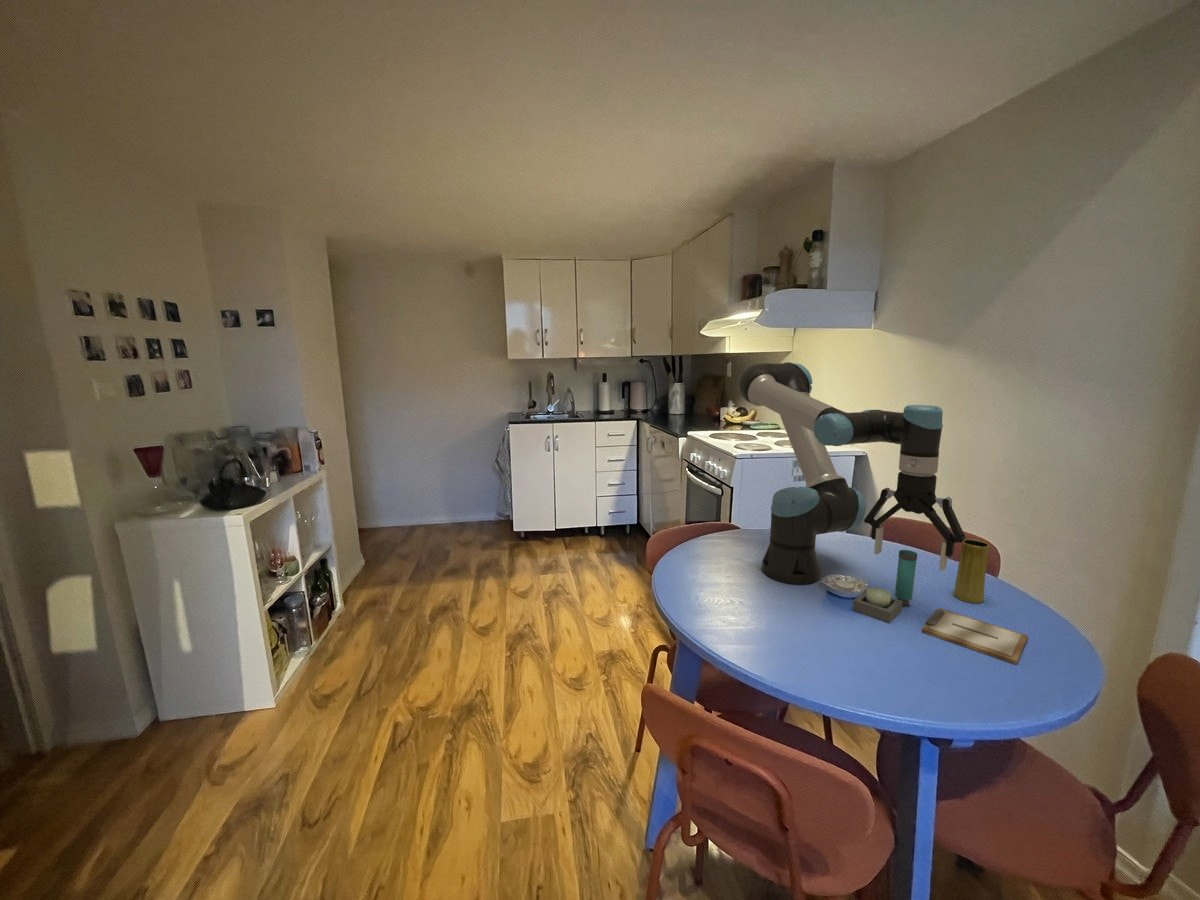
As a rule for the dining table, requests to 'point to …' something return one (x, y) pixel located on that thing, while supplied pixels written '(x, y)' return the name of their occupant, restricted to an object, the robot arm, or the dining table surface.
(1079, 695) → the dining table surface
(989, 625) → the drawing board
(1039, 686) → the dining table surface
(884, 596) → the button
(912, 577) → the marker
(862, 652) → the dining table surface
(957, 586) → the vase
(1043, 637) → the dining table surface
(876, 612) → the button frame
